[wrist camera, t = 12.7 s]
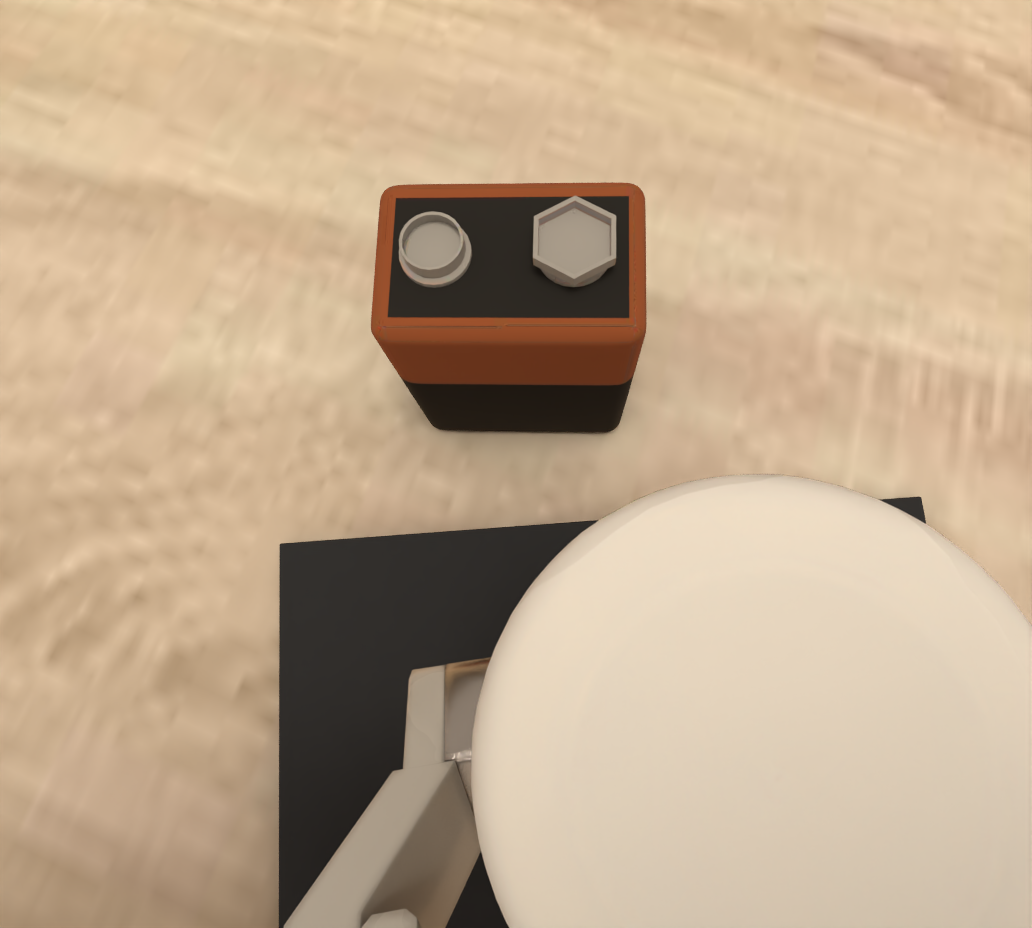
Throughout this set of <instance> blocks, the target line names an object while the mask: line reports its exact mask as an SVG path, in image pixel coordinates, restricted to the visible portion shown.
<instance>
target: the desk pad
mask: <svg viewBox="0 0 1032 928" xmlns="http://www.w3.org/2000/svg"><path fill="white" fill-rule="evenodd" d="M881 501H883V502H885V503H887V504H889V505H891V506H893V507H895V508H898V509H900V510H902V511H904V512H905V513H907V514H909V515H911V516H913V517H914V518H916V519H918V520H920V521H922V522H923V523H925V524H926V521H925V515H924V510H923V505H922V499H921V497H910V498H897V499H883V500H881ZM597 521H599V520H597ZM597 521H584V522H570V523H556V524H543V525H529V526H515V527H502V528H488V529H475V530H461V531H447V532H434V533H420V534H406V535H393V536H379V537H366V538H352V539H338V540H325V541H311V542H298V543H284V544H280V674H279V928H284V925H285V923H286V922H287V920H288V919H289V918H290V916H291V915H292V913H293V912H294V910H295V909H296V908H297V906H298V905H299V903H300V902H301V901H302V899H303V898H304V896H305V895H306V893H307V892H308V891H309V889H310V888H311V886H312V885H313V883H314V882H315V881H316V879H317V878H318V876H319V875H320V874H321V872H322V871H323V869H324V868H325V866H326V865H327V864H328V862H329V861H330V859H331V858H332V857H333V855H334V854H335V852H336V851H337V849H338V848H339V847H340V845H341V844H342V842H343V841H344V840H345V838H346V837H347V835H348V834H349V832H350V831H351V830H352V828H353V827H354V825H355V824H356V822H357V821H358V820H359V818H360V817H361V815H362V814H363V813H364V811H365V810H366V808H367V807H368V805H369V804H370V803H371V801H372V800H373V798H374V797H375V796H376V794H377V793H378V791H379V790H380V788H381V787H382V786H383V784H384V783H385V781H386V780H387V778H388V777H389V776H390V774H391V773H392V771H395V770H400V769H403V762H404V746H405V731H406V715H407V699H408V684H409V678H410V675H411V672H412V670H414V669H421V668H427V667H434V666H440V665H447V664H450V663H456V662H463V661H470V660H476V659H483V658H489V657H492V654H493V652H494V649H495V647H496V644H497V642H498V640H499V638H500V636H501V634H502V632H503V630H504V628H505V626H506V624H507V622H508V620H509V618H510V616H511V614H512V612H513V611H514V609H515V608H516V606H517V605H518V603H519V602H520V600H521V599H522V597H523V595H524V594H525V592H526V591H527V589H528V588H529V587H530V586H531V584H532V583H533V582H534V580H535V579H536V578H537V577H538V576H539V574H540V573H541V572H542V571H543V570H544V569H545V567H546V566H547V565H548V564H549V563H550V562H551V561H552V560H553V559H554V558H555V556H556V555H557V554H558V553H560V552H561V551H562V550H563V549H564V548H565V547H566V546H567V545H568V544H569V543H570V542H571V541H572V540H574V539H575V538H576V537H577V536H578V535H579V534H580V533H582V532H583V531H584V530H586V529H587V528H589V527H590V526H592V525H593V524H594V523H596V522H597ZM445 928H509V927H508V925H507V923H506V921H505V918H504V916H503V914H502V912H501V909H500V907H499V905H498V902H497V900H496V897H495V894H494V892H493V889H492V886H491V883H490V880H489V877H488V874H487V871H486V868H485V864H484V860H483V856H482V852H480V854H479V856H478V858H477V861H476V863H475V865H474V867H473V869H472V871H471V873H470V876H469V878H468V880H467V882H466V884H465V886H464V889H463V891H462V893H461V895H460V897H459V899H458V901H457V904H456V906H455V908H454V910H453V912H452V914H451V917H450V919H449V921H448V923H447V925H446V927H445Z"/></svg>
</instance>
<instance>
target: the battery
mask: <svg viewBox="0 0 1032 928" xmlns="http://www.w3.org/2000/svg"><path fill="white" fill-rule="evenodd" d="M371 331H372V334H373V335H374V337H375V339H376V340H377V342H378V343H379V345H380V346H381V348H382V349H383V351H384V352H385V354H386V356H387V357H388V359H389V360H390V362H391V363H392V365H393V366H394V368H395V369H396V371H397V372H398V374H399V375H400V377H401V378H402V380H403V382H404V383H405V385H406V386H407V388H408V389H409V391H410V392H411V394H412V395H413V397H414V398H415V400H416V401H417V403H418V405H419V406H420V408H421V409H422V411H423V412H424V414H425V415H426V417H427V418H428V420H429V421H430V423H431V424H432V425H433V426H434V427H436V428H438V429H442V430H475V431H556V432H608V431H611V430H613V429H615V428H616V427H617V426H618V424H619V422H620V420H621V416H622V413H623V410H624V406H625V403H626V399H627V396H628V392H629V389H630V385H631V382H632V378H633V375H634V372H635V368H636V365H637V361H638V358H639V354H640V351H641V347H642V344H643V340H644V337H645V333H646V228H645V197H644V194H643V192H642V191H641V189H640V188H639V187H638V186H636V185H634V184H630V183H528V184H422V185H397V186H392V187H389V188H388V189H386V190H385V191H384V193H383V194H382V196H381V200H380V209H379V222H378V236H377V249H376V263H375V276H374V290H373V303H372V317H371Z"/></svg>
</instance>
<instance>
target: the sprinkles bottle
mask: <svg viewBox="0 0 1032 928" xmlns="http://www.w3.org/2000/svg"><path fill="white" fill-rule="evenodd" d="M471 788H472V798H473V808H474V815H475V821H476V828H477V834H478V840H479V845H480V849H481V852H482V856H483V860H484V864H485V868H486V871H487V874H488V877H489V880H490V883H491V886H492V889H493V892H494V894H495V897H496V900H497V902H498V905H499V907H500V909H501V912H502V914H503V916H504V918H505V921H506V923H507V925H508V927H509V928H1032V625H1031V624H1030V622H1029V621H1028V620H1027V618H1026V617H1025V616H1024V614H1023V613H1022V612H1021V610H1020V609H1019V608H1018V606H1017V605H1016V604H1015V602H1014V601H1013V600H1012V598H1011V597H1010V596H1009V595H1008V594H1007V593H1006V591H1005V590H1004V589H1003V588H1002V587H1001V586H1000V584H999V583H998V582H997V581H996V580H994V579H993V578H992V577H991V576H990V575H989V574H988V573H986V572H985V570H984V568H982V567H981V566H980V565H979V564H978V563H977V562H976V561H974V560H973V559H972V558H971V557H970V556H969V555H967V554H966V553H965V552H964V551H963V550H962V549H960V548H959V547H958V546H956V545H955V544H954V543H952V542H951V541H950V540H948V539H947V538H946V537H944V536H943V535H942V534H940V533H939V532H937V531H936V530H934V529H933V528H931V527H930V526H929V525H927V524H925V523H923V522H922V521H920V520H918V519H916V518H914V517H913V516H911V515H909V514H907V513H905V512H904V511H902V510H900V509H898V508H895V507H893V506H891V505H889V504H887V503H885V502H883V501H881V500H878V499H876V498H873V497H870V496H868V495H865V494H862V493H859V492H856V491H853V490H851V489H848V488H845V487H842V486H839V485H834V484H830V483H826V482H822V481H818V480H813V479H809V478H803V477H796V476H789V475H775V474H748V475H728V476H720V477H712V478H705V479H700V480H695V481H690V482H684V483H681V484H678V485H675V486H672V487H668V488H665V489H662V490H659V491H656V492H654V493H651V494H649V495H647V496H644V497H642V498H639V499H637V500H635V501H633V502H631V503H629V504H627V505H625V506H624V507H622V508H620V509H618V510H616V511H614V512H613V513H611V514H609V515H607V516H605V517H603V518H602V519H600V520H599V521H597V522H596V523H594V524H593V525H592V526H590V527H589V528H587V529H586V530H584V531H583V532H582V533H580V534H579V535H578V536H577V537H576V538H575V539H574V540H572V541H571V542H570V543H569V544H568V545H567V546H566V547H565V548H564V549H563V550H562V551H561V552H560V553H558V554H557V555H556V556H555V558H554V559H553V560H552V561H551V562H550V563H549V564H548V565H547V566H546V567H545V569H544V570H543V571H542V572H541V573H540V574H539V576H538V577H537V578H536V579H535V580H534V582H533V583H532V584H531V586H530V587H529V588H528V589H527V591H526V592H525V594H524V595H523V597H522V599H521V600H520V602H519V603H518V605H517V606H516V608H515V609H514V611H513V612H512V614H511V616H510V618H509V620H508V622H507V624H506V626H505V628H504V630H503V632H502V634H501V636H500V638H499V640H498V642H497V644H496V647H495V649H494V652H493V654H492V657H491V660H490V662H489V665H488V667H487V671H486V674H485V678H484V682H483V685H482V689H481V693H480V697H479V700H478V704H477V709H476V715H475V721H474V728H473V736H472V756H471Z"/></svg>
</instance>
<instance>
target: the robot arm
mask: <svg viewBox="0 0 1032 928" xmlns="http://www.w3.org/2000/svg"><path fill="white" fill-rule="evenodd" d="M490 660H491V657H489V658H483V659H476V660H470V661H463V662H456V663H450V664H447V665H440V666H434V667H427V668H421V669H414V670H412V672H411V675H410V678H409V684H408V699H407V715H406V731H405V746H404V762H403V769H400V770H395V771H392V773H391V774H390V776H389V777H388V778H387V780H386V781H385V783H384V784H383V786H382V787H381V788H380V790H379V791H378V793H377V794H376V796H375V797H374V798H373V800H372V801H371V803H370V804H369V805H368V807H367V808H366V810H365V811H364V813H363V814H362V815H361V817H360V818H359V820H358V821H357V822H356V824H355V825H354V827H353V828H352V830H351V831H350V832H349V834H348V835H347V837H346V838H345V840H344V841H343V842H342V844H341V845H340V847H339V848H338V849H337V851H336V852H335V854H334V855H333V857H332V858H331V859H330V861H329V862H328V864H327V865H326V866H325V868H324V869H323V871H322V872H321V874H320V875H319V876H318V878H317V879H316V881H315V882H314V883H313V885H312V886H311V888H310V889H309V891H308V892H307V893H306V895H305V896H304V898H303V899H302V901H301V902H300V903H299V905H298V906H297V908H296V909H295V910H294V912H293V913H292V915H291V916H290V918H289V919H288V920H287V922H286V923H285V925H284V928H445V927H446V925H447V923H448V921H449V919H450V917H451V914H452V912H453V910H454V908H455V906H456V904H457V901H458V899H459V897H460V895H461V893H462V891H463V889H464V886H465V884H466V882H467V880H468V878H469V876H470V873H471V871H472V869H473V867H474V865H475V863H476V861H477V858H478V856H479V854H480V852H481V849H480V845H479V840H478V834H477V828H476V821H475V815H474V808H473V798H472V788H471V756H472V736H473V728H474V721H475V715H476V709H477V704H478V700H479V697H480V693H481V689H482V685H483V682H484V678H485V674H486V671H487V667H488V665H489V662H490Z"/></svg>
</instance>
